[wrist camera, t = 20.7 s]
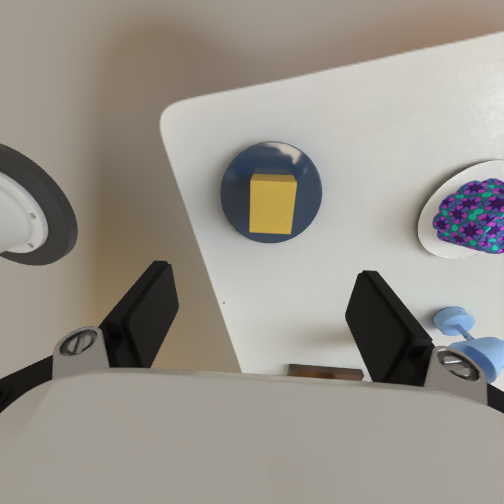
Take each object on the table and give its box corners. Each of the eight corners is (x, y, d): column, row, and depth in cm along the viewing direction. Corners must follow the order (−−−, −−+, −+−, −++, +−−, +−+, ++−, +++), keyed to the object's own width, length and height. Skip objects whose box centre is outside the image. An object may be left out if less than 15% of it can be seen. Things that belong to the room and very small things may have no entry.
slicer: (284, 391, 47) (288, 463, 37) (289, 363, 43) (296, 437, 32) (349, 397, 47) (371, 472, 36) (362, 369, 42) (392, 447, 32)
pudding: (471, 140, 22) (522, 142, 18) (558, 184, 24) (627, 197, 19) (393, 236, 28) (417, 257, 24) (467, 267, 30) (503, 292, 25)
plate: (224, 237, 30) (222, 241, 29) (220, 139, 24) (217, 140, 23) (311, 241, 29) (313, 245, 28) (329, 143, 23) (331, 143, 22)
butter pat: (252, 219, 27) (249, 232, 24) (253, 173, 24) (250, 180, 21) (288, 221, 27) (290, 234, 23) (293, 175, 24) (297, 182, 21)
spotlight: (417, 327, 35) (462, 329, 35) (465, 391, 27) (526, 394, 26) (429, 304, 33) (477, 306, 33) (486, 366, 24) (553, 370, 24)
